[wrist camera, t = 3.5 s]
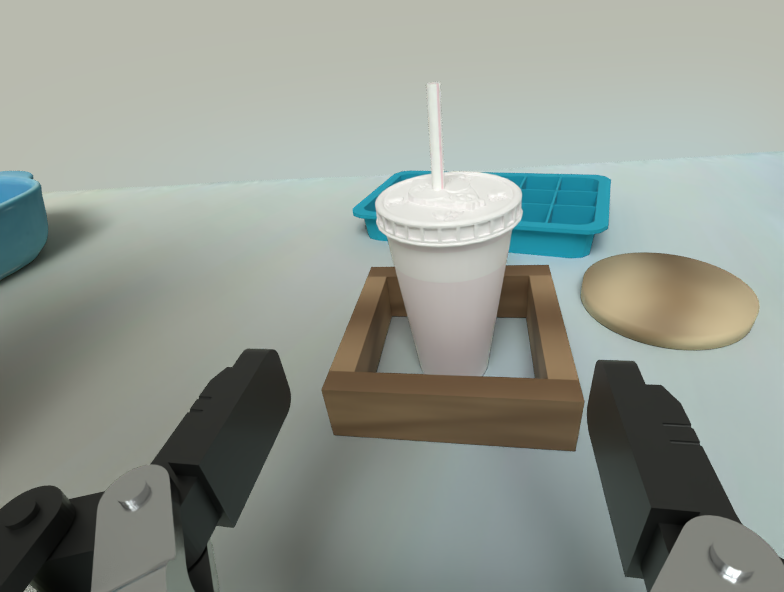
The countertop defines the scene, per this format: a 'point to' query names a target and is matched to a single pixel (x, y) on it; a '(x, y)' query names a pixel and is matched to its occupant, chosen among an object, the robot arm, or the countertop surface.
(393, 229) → the smoothie
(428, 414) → the square wooden frame
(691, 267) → the trivet
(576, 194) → the ice cube tray
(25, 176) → the casserole dish
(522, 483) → the countertop surface
